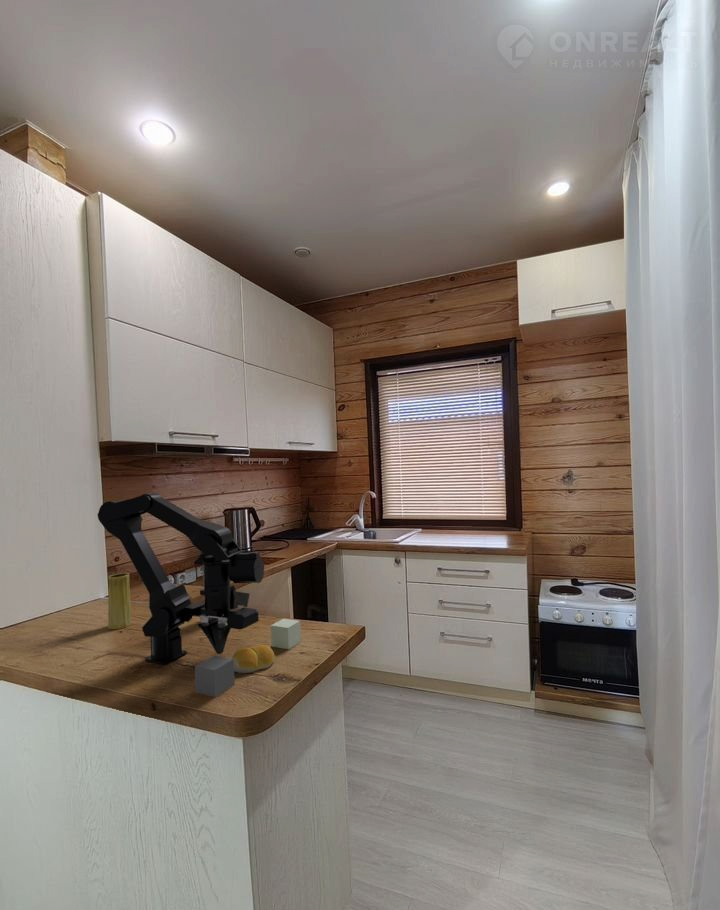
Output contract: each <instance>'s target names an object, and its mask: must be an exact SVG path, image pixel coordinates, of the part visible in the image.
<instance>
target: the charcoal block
mask: <svg viewBox="0 0 720 910" xmlns="http://www.w3.org/2000/svg"><path fill="white" fill-rule="evenodd" d="M194 674H195V675H194V676H195V678H194V679H195V693H197V694H201V695H205V696H210V697H213V698H217V697H218V696H219V695H221V694H223V693H224V692H226V691H227V690H229V689H230V688H232V687H234V686H235V671H234V659H232V658H231V657H230V658H229V657H224V656H219V655H213V656H210V657H209V658H207V659H205V660H203V661H202V662H199V663H198V664H196V665H195V666H194Z"/></svg>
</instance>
